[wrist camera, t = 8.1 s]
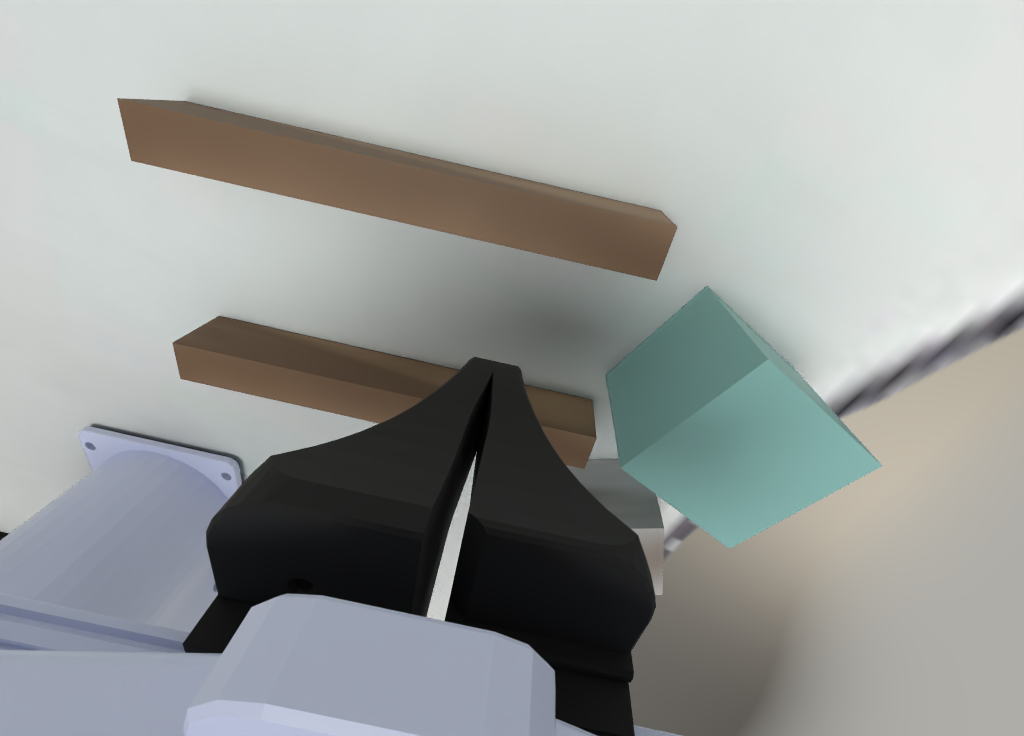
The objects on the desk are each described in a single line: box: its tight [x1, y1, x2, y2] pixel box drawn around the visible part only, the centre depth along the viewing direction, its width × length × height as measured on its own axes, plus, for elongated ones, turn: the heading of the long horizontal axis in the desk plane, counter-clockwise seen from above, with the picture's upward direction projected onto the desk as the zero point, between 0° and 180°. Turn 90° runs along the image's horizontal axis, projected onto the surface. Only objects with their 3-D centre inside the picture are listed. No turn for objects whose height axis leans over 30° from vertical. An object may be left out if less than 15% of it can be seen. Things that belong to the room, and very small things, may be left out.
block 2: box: [606, 286, 882, 549], centre depth 15 cm, size 5×5×6 cm
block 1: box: [566, 459, 664, 595], centre depth 19 cm, size 4×4×4 cm
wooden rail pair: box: [117, 98, 677, 469], centre depth 16 cm, size 9×16×2 cm, turn 79°
